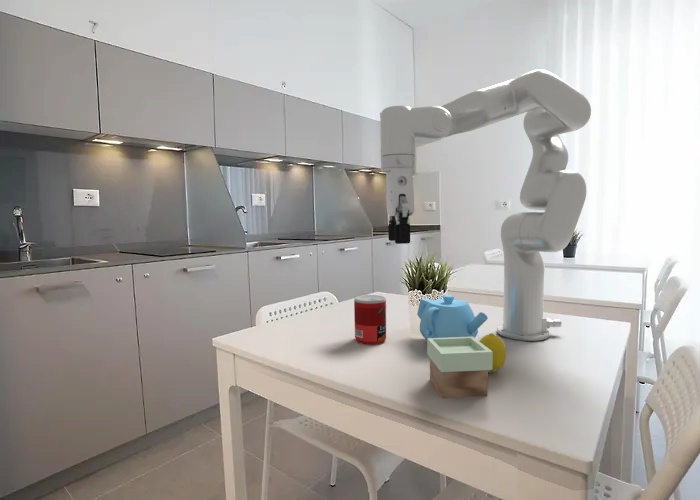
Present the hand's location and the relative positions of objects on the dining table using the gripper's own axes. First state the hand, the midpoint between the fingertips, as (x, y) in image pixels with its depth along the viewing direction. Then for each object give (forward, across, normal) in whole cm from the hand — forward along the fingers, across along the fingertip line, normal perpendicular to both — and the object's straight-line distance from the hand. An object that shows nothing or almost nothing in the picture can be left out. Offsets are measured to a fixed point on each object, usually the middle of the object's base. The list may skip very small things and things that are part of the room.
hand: (398, 241), depth 93 cm
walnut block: (+26, -20, -7) cm, 33 cm away
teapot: (+26, +5, -13) cm, 30 cm away
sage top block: (+21, -20, -7) cm, 30 cm away
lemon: (+26, -14, -16) cm, 33 cm away
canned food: (+26, +10, +6) cm, 28 cm away
